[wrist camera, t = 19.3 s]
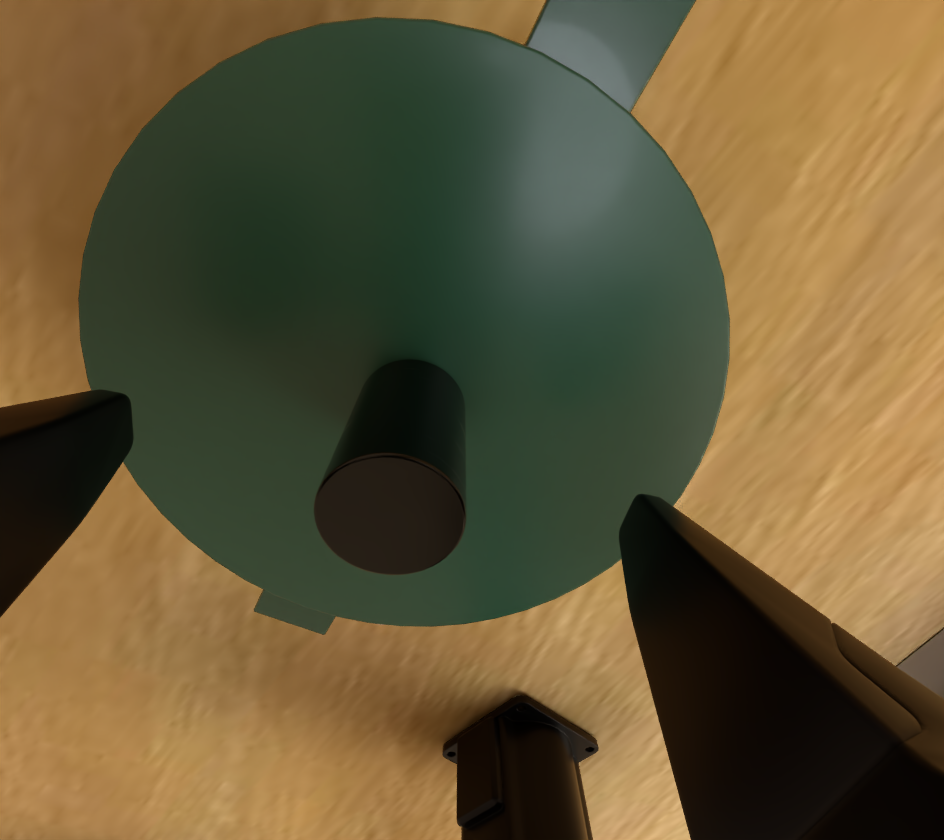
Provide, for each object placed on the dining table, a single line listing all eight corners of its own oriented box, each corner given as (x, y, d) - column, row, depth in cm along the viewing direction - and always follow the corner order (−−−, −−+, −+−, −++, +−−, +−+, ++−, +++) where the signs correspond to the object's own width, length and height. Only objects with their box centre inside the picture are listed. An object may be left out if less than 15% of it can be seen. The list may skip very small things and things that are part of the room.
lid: (842, 267, 11) (1095, 339, 7) (517, 652, 17) (537, 832, 12) (203, -168, 8) (-131, -585, 4) (63, 489, 14) (-134, 653, 9)
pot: (761, 156, 16) (938, 156, 10) (470, 567, 23) (472, 704, 17) (353, -137, 12) (259, -390, 7) (169, 448, 20) (49, 566, 14)
